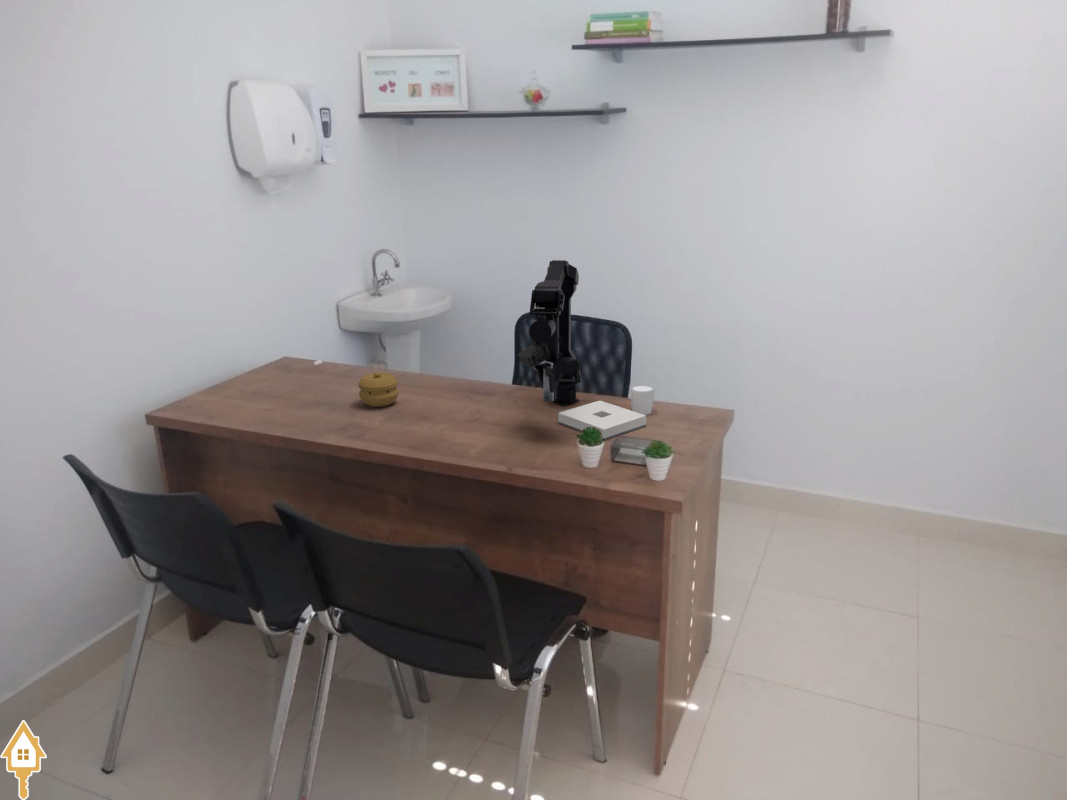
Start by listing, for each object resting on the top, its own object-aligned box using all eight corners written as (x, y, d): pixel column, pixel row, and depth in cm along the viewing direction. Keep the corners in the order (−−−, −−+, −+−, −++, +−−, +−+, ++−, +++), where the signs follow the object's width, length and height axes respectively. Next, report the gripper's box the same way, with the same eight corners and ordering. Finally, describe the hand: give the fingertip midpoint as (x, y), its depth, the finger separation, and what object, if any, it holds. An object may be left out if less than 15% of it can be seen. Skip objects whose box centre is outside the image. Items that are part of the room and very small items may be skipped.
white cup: (648, 417, 232) (648, 393, 230) (625, 413, 235) (626, 389, 233) (657, 410, 237) (658, 386, 235) (635, 406, 241) (636, 383, 239)
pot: (352, 408, 244) (349, 376, 241) (372, 396, 254) (369, 365, 251) (388, 412, 240) (385, 379, 237) (406, 400, 251) (404, 368, 248)
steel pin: (541, 400, 220) (540, 367, 217) (549, 397, 222) (548, 365, 219) (548, 402, 218) (547, 369, 215) (556, 400, 219) (555, 367, 217)
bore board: (558, 423, 228) (558, 412, 227) (599, 410, 238) (599, 400, 237) (604, 440, 215) (604, 429, 214) (646, 425, 225) (646, 415, 224)
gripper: (501, 332, 216) (503, 389, 221) (548, 345, 202) (548, 405, 207) (533, 326, 223) (534, 381, 228) (581, 337, 209) (581, 396, 214)
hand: (548, 391), depth 219 cm, fingers closed on steel pin, 3 cm apart
